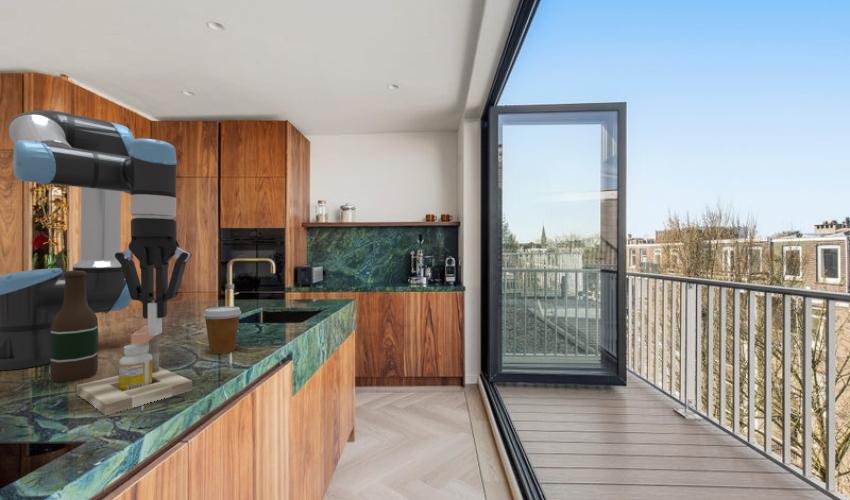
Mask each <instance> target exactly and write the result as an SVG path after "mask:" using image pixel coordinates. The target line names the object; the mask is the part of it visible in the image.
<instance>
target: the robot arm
mask: <svg viewBox="0 0 850 500" xmlns="http://www.w3.org/2000/svg"><path fill="white" fill-rule="evenodd" d="M7 133H8V136H9V139H10V141H12V142H13V144H14V145H13V152H12V153H13V154H12V156H13V158H12V159H13V160H12V166H13V167H12V168H13V176H14V177H15V178H16V179H17V180H19V181H22V182H29V183H37V184H39V185H54V186H55V185H56V186H64V187H65V186H67V187H75V188H80V191H81V192H80V257H79V258H80V259H79V261H77V262H76V263H74V264H73V265H72V271H85V272H86V274H87V275H86V276H85V285H86V297H87V302H88V306H89V307H90V308H91V309H92V310H93V311H94V312H95V314H102V313H105V314H108V313H110V312H111V313H112V312H118V311H123V310H125V309H126V308H128V307H129V305H130V304H131V302H132V301H137V302H141V304H142V318H143V319H144V320H145V319H147V324H148V332H149V336H156V335H158V334H159V335H160V334H162V333H163V319H164V318H166V317H167V315H168V301H169V300H171V299H175V298H177V297H178V294H179V292H180V291H179V290H180V287H181V283H182V280H183V276H184V273H185V269H186V264H187V263H188V261H189V260H190V259H191V257H192V255H193V254H192V253H191V252H190V251H189V252H187V251H185V250H183V249H182V248H180V245H179V243H178V239H177V237H178V236H177V235H178V234H177V231H178V230H177V228H178V227H177V226H178V225H177V224H178V223H177V221H176V220H175V219H174V218H177V164H178V161H177V153H176V148H175V146H174V145H173V144H171V143H169V142H167V141H164V140H159V139H153V138H135V137H134V135H133V132H132V131H131V129H129V128H128V126H125V125H122V124H118V123H115V122H112V121H109V120H108V121H107V120H102V119H97V118H93V117H86V116H83V115H77V114H71V113H67V112H63V111H57V110H48V109H47V110H46V109H43V110H41V109H40V110H31V111H27V112H23V113H22V112H21V113H20V114H18V115H15V116H14V117H13V118H12V119H11V120H9V124H8V126H7ZM122 192H124V193H126V194H129V195H130V215H131V216H132V217H133V218H131V219H130V238H131V239H130V242H129V244H128V248H126V249H124V250H122V249H121V248H122V245H121V244H122V243H121V242H122V241H121V240H122V236H121V235H122ZM121 250H122V251H121ZM134 257H135V258H136V259H137V261H139V269H140V278H139V273H138V272H137V267H136V264H135V262H134ZM173 257H174V258H175V259H176V260H175V262H174V264H173V269H172V272H171V276H170V280H169V278H168V277H169V275H168V272H169V270H168V269H169V267H170V265H169V262H170V261H171V260H172V258H173ZM154 270H155V271H154ZM154 272H155V273H154ZM64 273H65V272H63V269H62V268H60V267H54V268H53V267H52V268H51V267H50V268H41V269H31V270H23V271H16V272H8V273H6V274H2V275H0V371H9V370H10V371H11V370H19V369H27V368H33V367H39V366H42V365H48V364H51V324H52V321H53V319H54V317H55V315H56V314H57V313H58V311H59V310H60V309H61V308H62V305H63V301H64V290H65V279H66V277H64ZM154 275H155V279H154ZM154 281H155V283H154ZM154 284H155V285H154ZM154 290H155V291H154ZM154 292H155V293H154Z"/></svg>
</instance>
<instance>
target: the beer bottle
mask: <svg viewBox="0 0 850 500" xmlns="http://www.w3.org/2000/svg"><path fill="white" fill-rule="evenodd" d="M63 273H64V277H66V279H65V290H64V301H63V305H62V308H61V309H60V310H59V311H58V313H57V314H56V315H55V317H54V319H53V321H52V324H51V363H50V380H51V381H52V382H56V383H66V382H67V383H68V381H70V382H76V381H75V380H77V381H81V380H83V379H84V378H85V379H87V378H92V377H93V376H94V375H96V373H97V372H98V368H99V366H98V365H99V360H98V359H99V322H98V317H97V315H96V314H97V313H95V312H94V311H93V310H92V309H91V308H90V307H89V306H88V302H87V297H86V285H85V276H86V275H87V274H86V272H85V271H73V270H67V271H65V272H63ZM91 376H92V377H91ZM80 379H81V380H80Z"/></svg>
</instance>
